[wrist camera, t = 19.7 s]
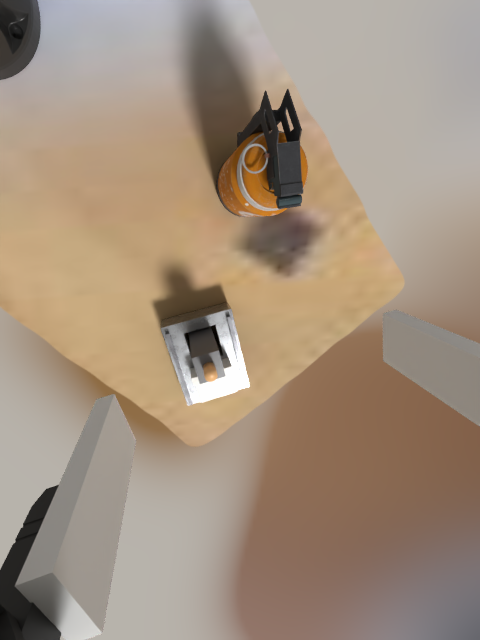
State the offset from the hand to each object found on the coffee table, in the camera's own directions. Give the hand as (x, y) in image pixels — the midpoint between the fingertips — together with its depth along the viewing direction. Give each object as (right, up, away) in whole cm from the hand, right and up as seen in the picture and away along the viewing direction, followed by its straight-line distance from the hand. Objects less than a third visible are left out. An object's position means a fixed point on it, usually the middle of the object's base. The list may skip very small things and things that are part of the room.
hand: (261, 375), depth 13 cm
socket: (-8, -2, +39) cm, 40 cm away
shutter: (-6, -8, +37) cm, 39 cm away
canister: (-1, +25, +31) cm, 40 cm away
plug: (-8, 0, +38) cm, 39 cm away
